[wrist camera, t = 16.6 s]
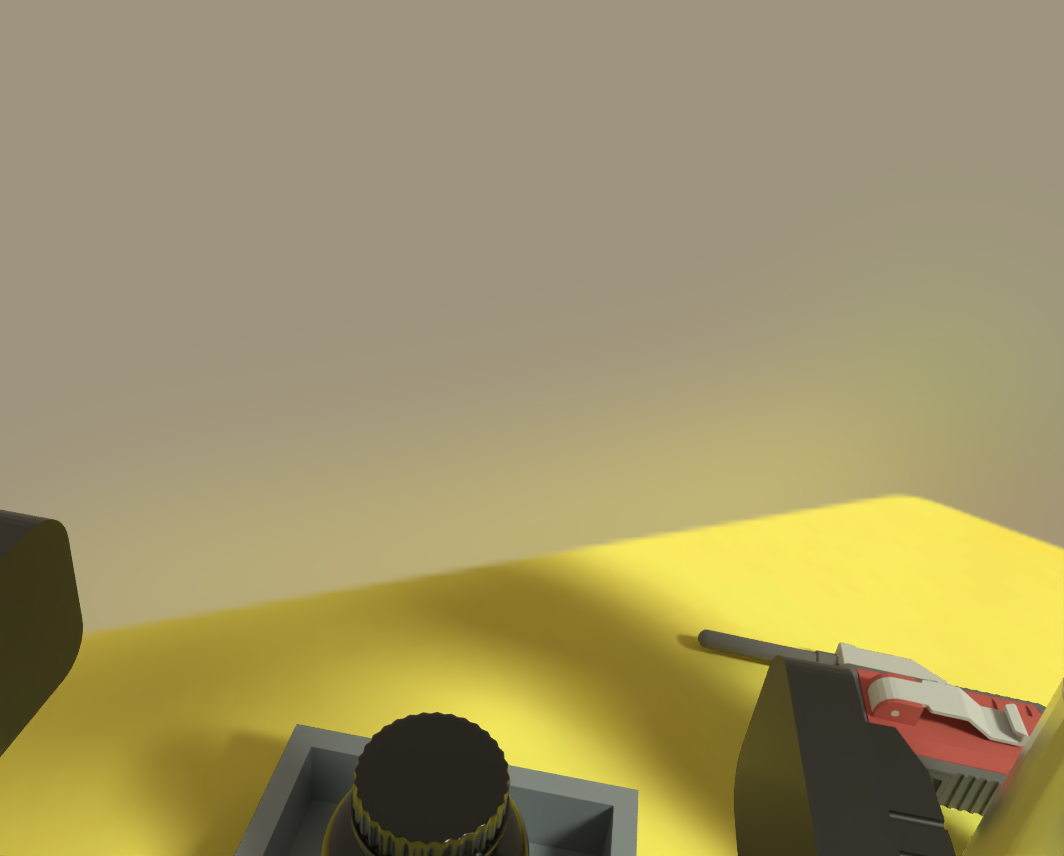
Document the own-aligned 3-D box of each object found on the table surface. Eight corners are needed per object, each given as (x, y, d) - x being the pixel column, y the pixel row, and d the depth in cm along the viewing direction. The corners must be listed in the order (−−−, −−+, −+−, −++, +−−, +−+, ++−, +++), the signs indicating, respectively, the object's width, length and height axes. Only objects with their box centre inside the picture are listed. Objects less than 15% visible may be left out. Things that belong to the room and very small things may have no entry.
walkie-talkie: (1039, 715, 51) (693, 641, 52) (1072, 658, 48) (709, 583, 50) (1099, 849, 43) (691, 758, 45) (1140, 789, 41) (710, 695, 43)
